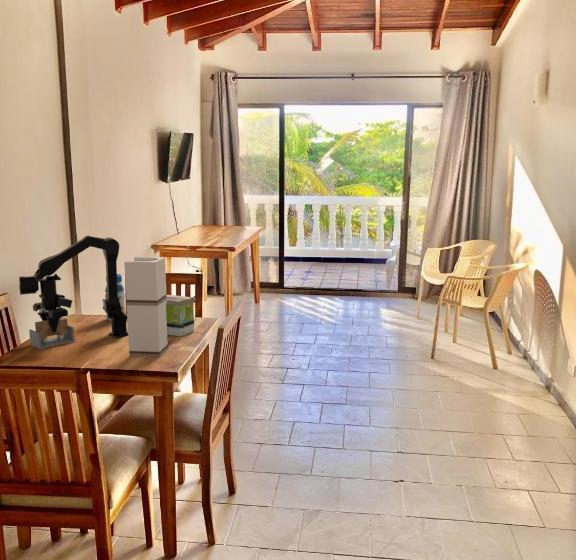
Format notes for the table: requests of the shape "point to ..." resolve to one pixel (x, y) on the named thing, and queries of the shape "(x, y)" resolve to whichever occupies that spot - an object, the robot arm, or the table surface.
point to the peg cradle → (51, 339)
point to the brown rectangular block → (46, 330)
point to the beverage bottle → (120, 293)
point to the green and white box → (179, 315)
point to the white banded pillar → (146, 306)
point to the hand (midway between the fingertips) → (51, 331)
